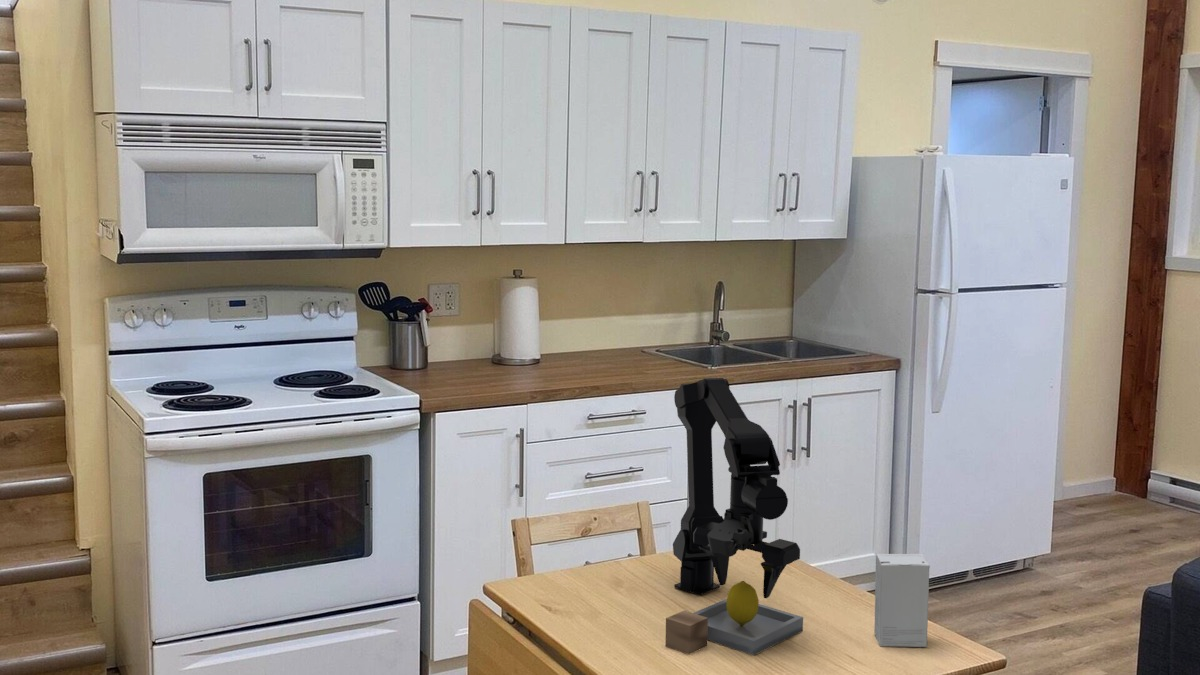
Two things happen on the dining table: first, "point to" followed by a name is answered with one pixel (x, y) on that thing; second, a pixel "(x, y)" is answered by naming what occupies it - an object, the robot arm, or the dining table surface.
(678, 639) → the walnut block
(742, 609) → the lemon
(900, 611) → the skincare box
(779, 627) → the dish
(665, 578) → the dining table surface
